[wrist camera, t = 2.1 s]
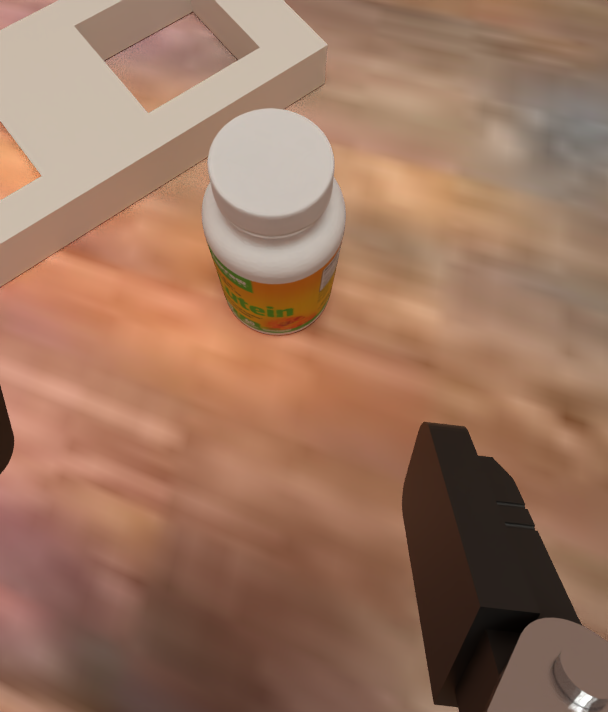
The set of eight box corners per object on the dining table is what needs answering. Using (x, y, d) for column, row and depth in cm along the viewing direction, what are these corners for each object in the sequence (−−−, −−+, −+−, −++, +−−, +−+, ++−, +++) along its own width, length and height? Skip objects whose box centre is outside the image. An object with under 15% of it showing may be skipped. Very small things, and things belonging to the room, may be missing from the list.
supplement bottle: (208, 316, 23) (153, 203, 14) (248, 226, 25) (223, 68, 15) (309, 352, 23) (323, 261, 14) (344, 259, 24) (379, 118, 15)
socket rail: (213, -30, 29) (207, -76, 27) (324, 83, 27) (327, 44, 25) (-193, 188, 24) (-245, 155, 22) (-96, 346, 22) (-142, 330, 20)
